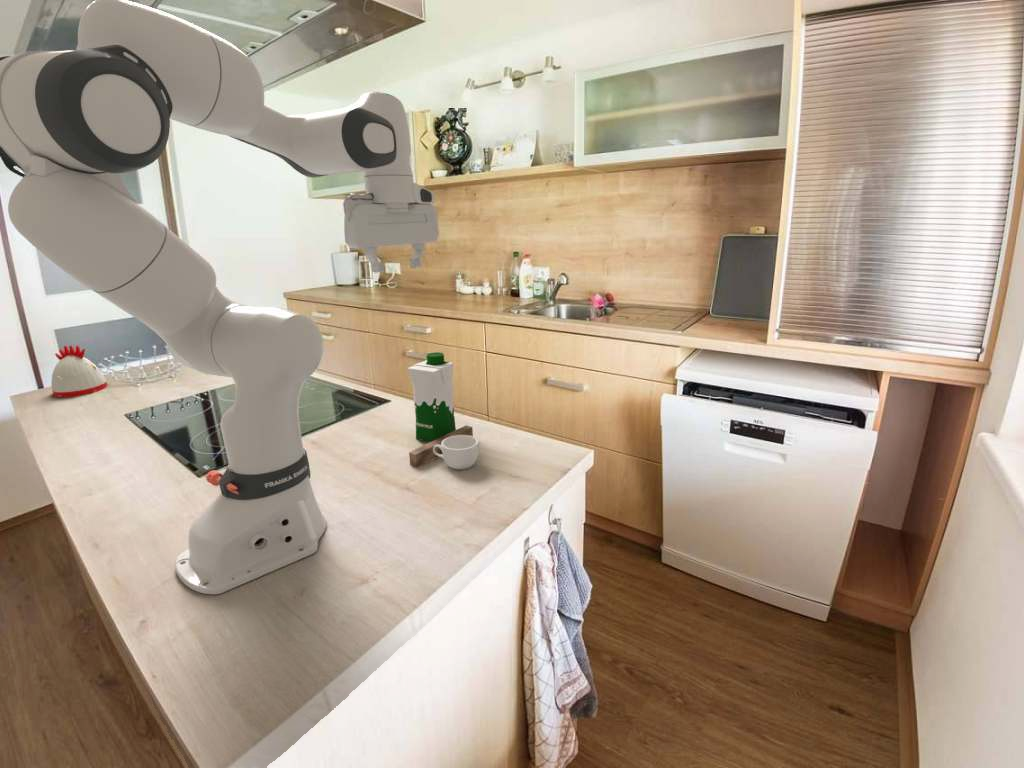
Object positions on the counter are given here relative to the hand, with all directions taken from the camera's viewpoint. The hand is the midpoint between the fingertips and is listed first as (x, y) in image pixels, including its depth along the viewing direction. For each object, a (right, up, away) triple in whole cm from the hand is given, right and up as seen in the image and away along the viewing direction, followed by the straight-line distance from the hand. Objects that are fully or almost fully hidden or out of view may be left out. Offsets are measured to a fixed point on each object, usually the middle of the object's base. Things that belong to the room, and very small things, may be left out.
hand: (397, 269), depth 100 cm
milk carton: (+4, -35, +25) cm, 43 cm away
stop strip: (+7, -37, +17) cm, 42 cm away
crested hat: (-119, -24, +69) cm, 139 cm away
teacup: (+10, -40, +11) cm, 42 cm away
